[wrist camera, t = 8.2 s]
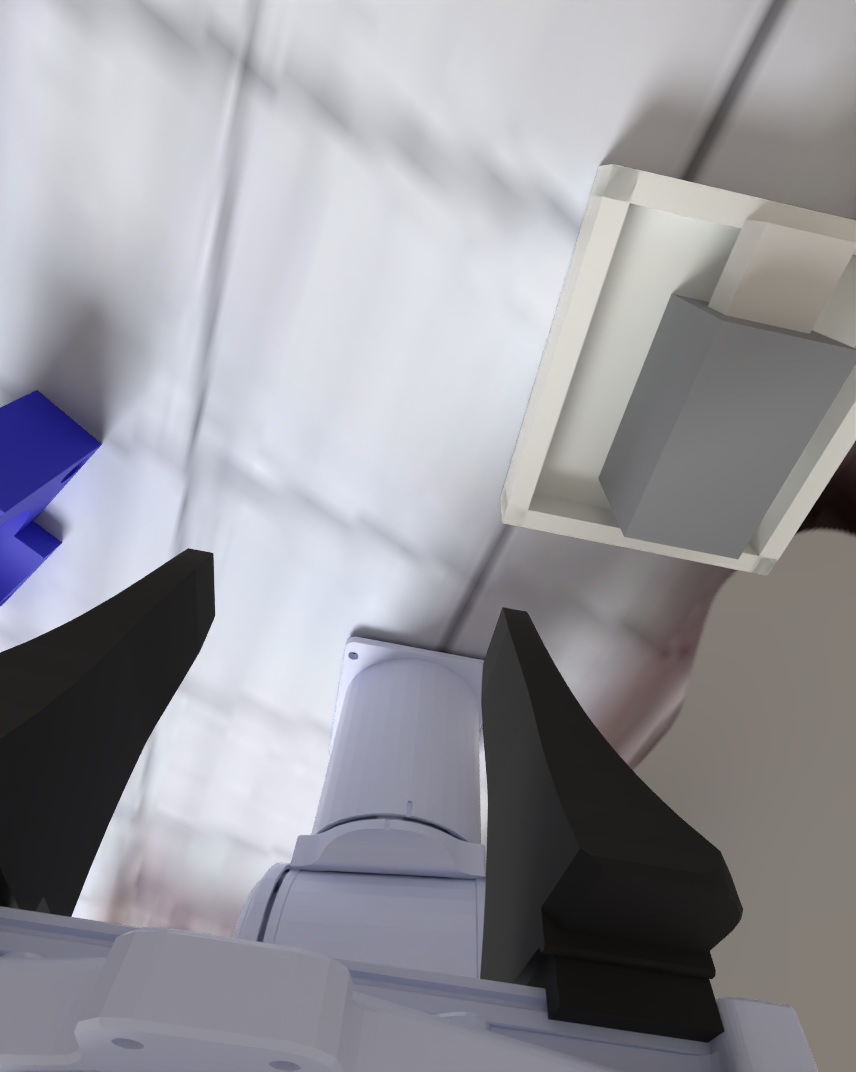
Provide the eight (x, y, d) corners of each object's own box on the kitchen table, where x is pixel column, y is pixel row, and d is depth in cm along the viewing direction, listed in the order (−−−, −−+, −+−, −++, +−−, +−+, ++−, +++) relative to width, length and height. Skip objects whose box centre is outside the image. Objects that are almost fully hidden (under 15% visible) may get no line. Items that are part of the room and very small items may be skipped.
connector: (693, 497, 23) (738, 559, 19) (598, 478, 22) (623, 536, 19) (825, 240, 18) (921, 254, 14) (703, 212, 17) (767, 219, 14)
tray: (746, 548, 24) (767, 575, 23) (499, 499, 24) (502, 523, 22) (931, 243, 18) (979, 248, 16) (599, 165, 17) (613, 163, 16)
